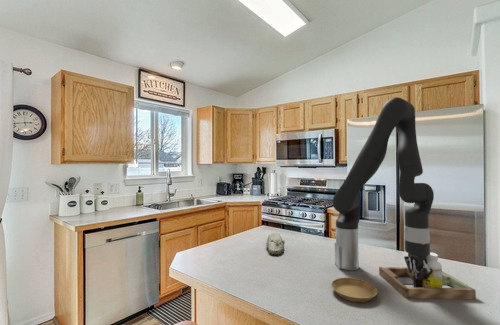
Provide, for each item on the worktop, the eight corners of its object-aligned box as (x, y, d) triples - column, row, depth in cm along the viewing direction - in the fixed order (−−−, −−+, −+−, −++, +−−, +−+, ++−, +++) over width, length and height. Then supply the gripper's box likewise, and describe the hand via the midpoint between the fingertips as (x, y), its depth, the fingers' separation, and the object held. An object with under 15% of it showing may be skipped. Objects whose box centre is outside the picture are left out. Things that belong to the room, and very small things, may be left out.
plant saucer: (354, 310, 76) (354, 301, 76) (322, 289, 90) (322, 281, 90) (387, 300, 82) (387, 292, 82) (353, 281, 96) (353, 274, 96)
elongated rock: (282, 239, 158) (266, 240, 159) (281, 231, 158) (266, 231, 159) (286, 255, 123) (266, 256, 124) (285, 244, 124) (265, 245, 124)
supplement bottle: (414, 286, 91) (413, 251, 91) (431, 285, 91) (430, 250, 92) (429, 295, 84) (428, 257, 85) (447, 294, 85) (446, 256, 85)
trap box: (405, 298, 83) (405, 288, 83) (379, 274, 101) (379, 267, 101) (475, 299, 82) (475, 290, 82) (436, 275, 100) (436, 267, 100)
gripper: (396, 234, 95) (397, 280, 95) (417, 244, 82) (418, 298, 81) (416, 234, 95) (417, 280, 94) (441, 245, 81) (442, 298, 81)
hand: (418, 288), depth 88 cm, fingers closed
